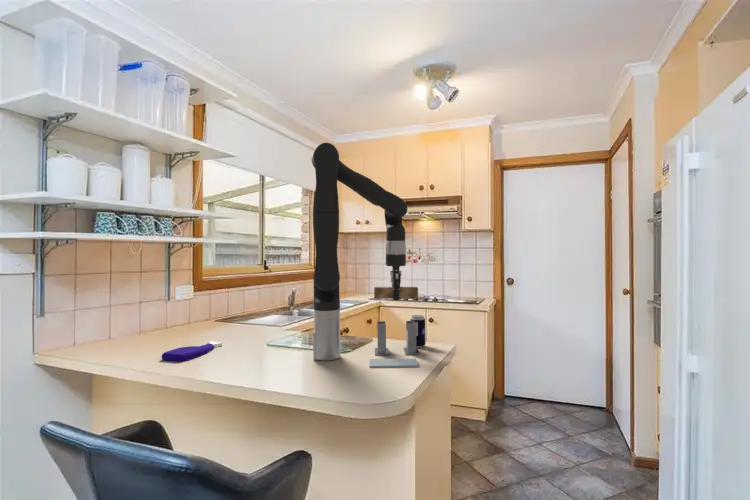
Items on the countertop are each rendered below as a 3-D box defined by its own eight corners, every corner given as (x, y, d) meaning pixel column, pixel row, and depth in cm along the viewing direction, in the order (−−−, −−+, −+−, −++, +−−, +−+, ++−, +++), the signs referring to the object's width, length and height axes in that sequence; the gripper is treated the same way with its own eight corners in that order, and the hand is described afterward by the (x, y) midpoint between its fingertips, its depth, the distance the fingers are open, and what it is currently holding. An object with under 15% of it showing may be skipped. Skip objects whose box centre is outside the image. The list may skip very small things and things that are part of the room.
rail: (374, 298, 148) (374, 287, 148) (374, 297, 152) (374, 286, 152) (417, 298, 148) (417, 287, 148) (416, 297, 152) (416, 286, 152)
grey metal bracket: (375, 355, 145) (374, 325, 145) (374, 349, 154) (374, 320, 154) (388, 355, 145) (388, 324, 145) (387, 349, 154) (387, 320, 154)
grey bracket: (405, 355, 146) (405, 324, 145) (403, 349, 154) (403, 320, 154) (419, 354, 146) (419, 324, 146) (416, 348, 154) (416, 320, 154)
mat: (369, 367, 131) (369, 365, 131) (369, 360, 139) (369, 359, 139) (418, 367, 131) (418, 365, 131) (415, 360, 139) (415, 358, 139)
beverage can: (424, 348, 154) (424, 317, 154) (410, 348, 156) (409, 317, 156) (425, 345, 160) (425, 314, 160) (411, 344, 161) (411, 314, 161)
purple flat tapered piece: (183, 355, 139) (228, 340, 162) (158, 353, 142) (206, 338, 166) (183, 363, 139) (228, 347, 162) (158, 361, 142) (206, 346, 166)
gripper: (385, 253, 157) (385, 297, 157) (386, 253, 142) (386, 302, 142) (404, 253, 157) (404, 297, 157) (407, 253, 142) (407, 302, 143)
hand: (395, 299), depth 150 cm, fingers closed on rail, 4 cm apart
